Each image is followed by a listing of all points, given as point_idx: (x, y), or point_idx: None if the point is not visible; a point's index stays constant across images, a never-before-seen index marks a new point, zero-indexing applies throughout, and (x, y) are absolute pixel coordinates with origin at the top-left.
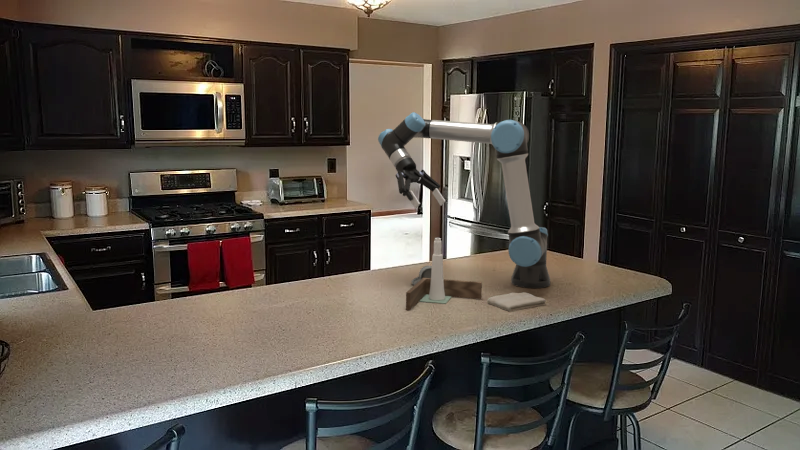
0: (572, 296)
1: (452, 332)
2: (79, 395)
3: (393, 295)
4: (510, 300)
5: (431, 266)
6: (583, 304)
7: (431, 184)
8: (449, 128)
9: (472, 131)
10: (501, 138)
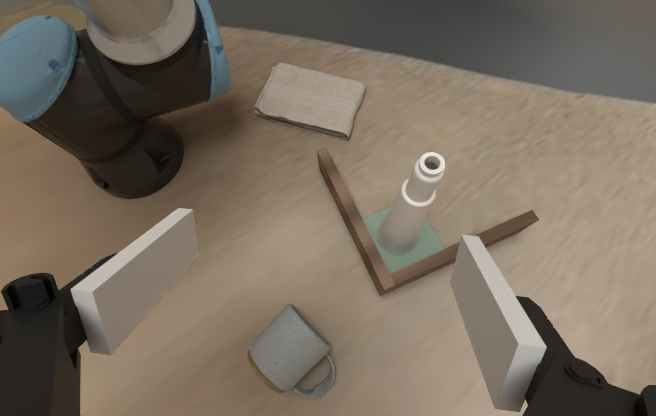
0: None
1: (539, 91)
2: None
3: (454, 345)
4: (335, 94)
5: (272, 346)
6: (238, 33)
7: (54, 351)
8: None
9: None
10: None
